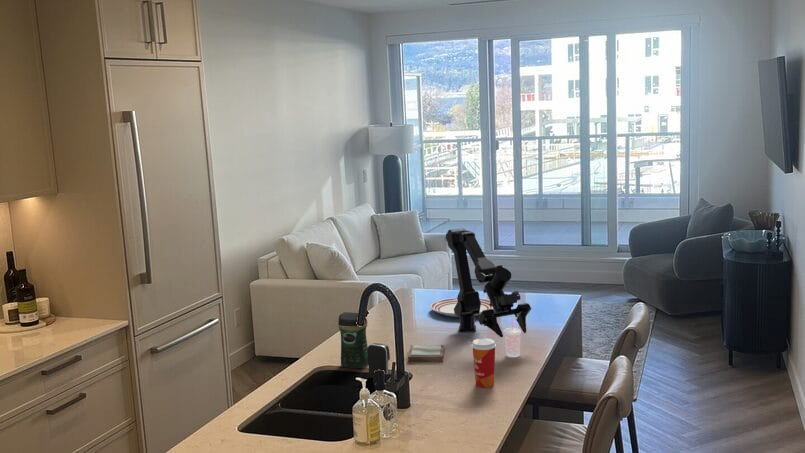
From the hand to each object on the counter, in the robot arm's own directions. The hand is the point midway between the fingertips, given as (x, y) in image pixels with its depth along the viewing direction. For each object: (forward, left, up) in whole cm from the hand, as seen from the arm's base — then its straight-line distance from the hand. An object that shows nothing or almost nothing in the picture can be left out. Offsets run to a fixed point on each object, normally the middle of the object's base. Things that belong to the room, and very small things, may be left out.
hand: (513, 334), depth 269 cm
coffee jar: (+7, -54, -8) cm, 55 cm away
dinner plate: (-56, -18, -8) cm, 59 cm away
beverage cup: (-1, 0, -8) cm, 8 cm away
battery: (+19, -44, -8) cm, 49 cm away
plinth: (-1, -30, -8) cm, 31 cm away
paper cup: (+26, -10, -8) cm, 29 cm away
